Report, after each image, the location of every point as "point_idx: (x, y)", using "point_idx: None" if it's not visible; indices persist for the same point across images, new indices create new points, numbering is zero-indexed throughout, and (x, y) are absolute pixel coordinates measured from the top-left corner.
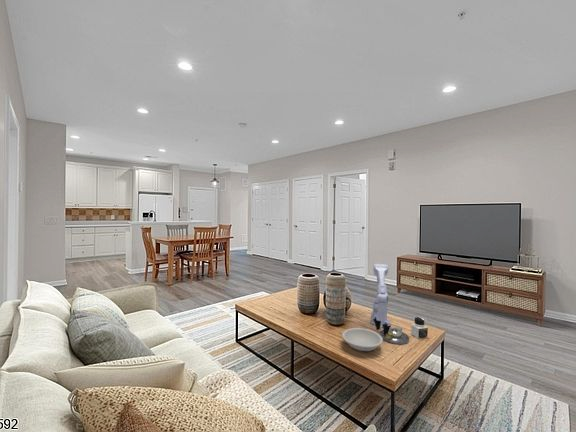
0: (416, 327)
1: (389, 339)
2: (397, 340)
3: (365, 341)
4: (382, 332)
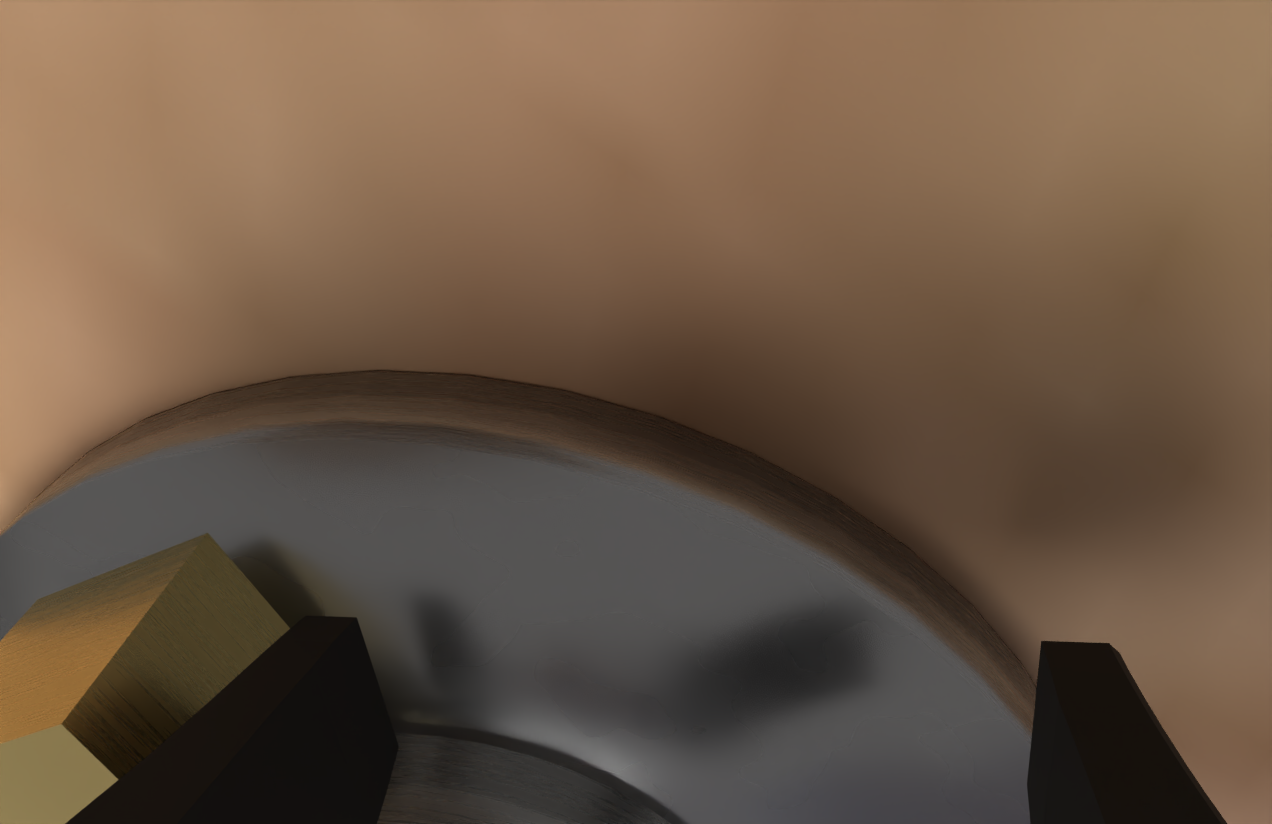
0: None
1: None
2: None
3: None
4: (883, 749)
